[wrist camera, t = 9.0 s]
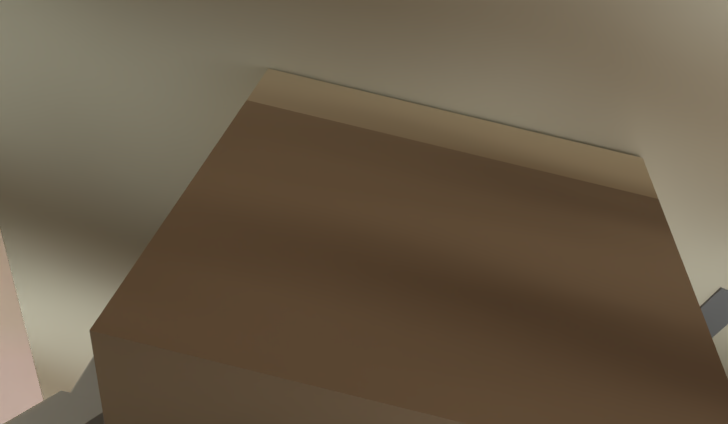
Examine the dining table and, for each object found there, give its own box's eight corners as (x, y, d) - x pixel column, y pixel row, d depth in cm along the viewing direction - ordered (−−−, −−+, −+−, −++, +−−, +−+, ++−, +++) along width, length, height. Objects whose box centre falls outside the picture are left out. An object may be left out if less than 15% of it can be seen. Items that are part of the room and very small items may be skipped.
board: (-6, -218, 9) (-113, -211, 7) (1266, 91, 9) (1441, 168, 7) (88, 363, 18) (48, 425, 16) (726, 522, 17) (751, 600, 16)
